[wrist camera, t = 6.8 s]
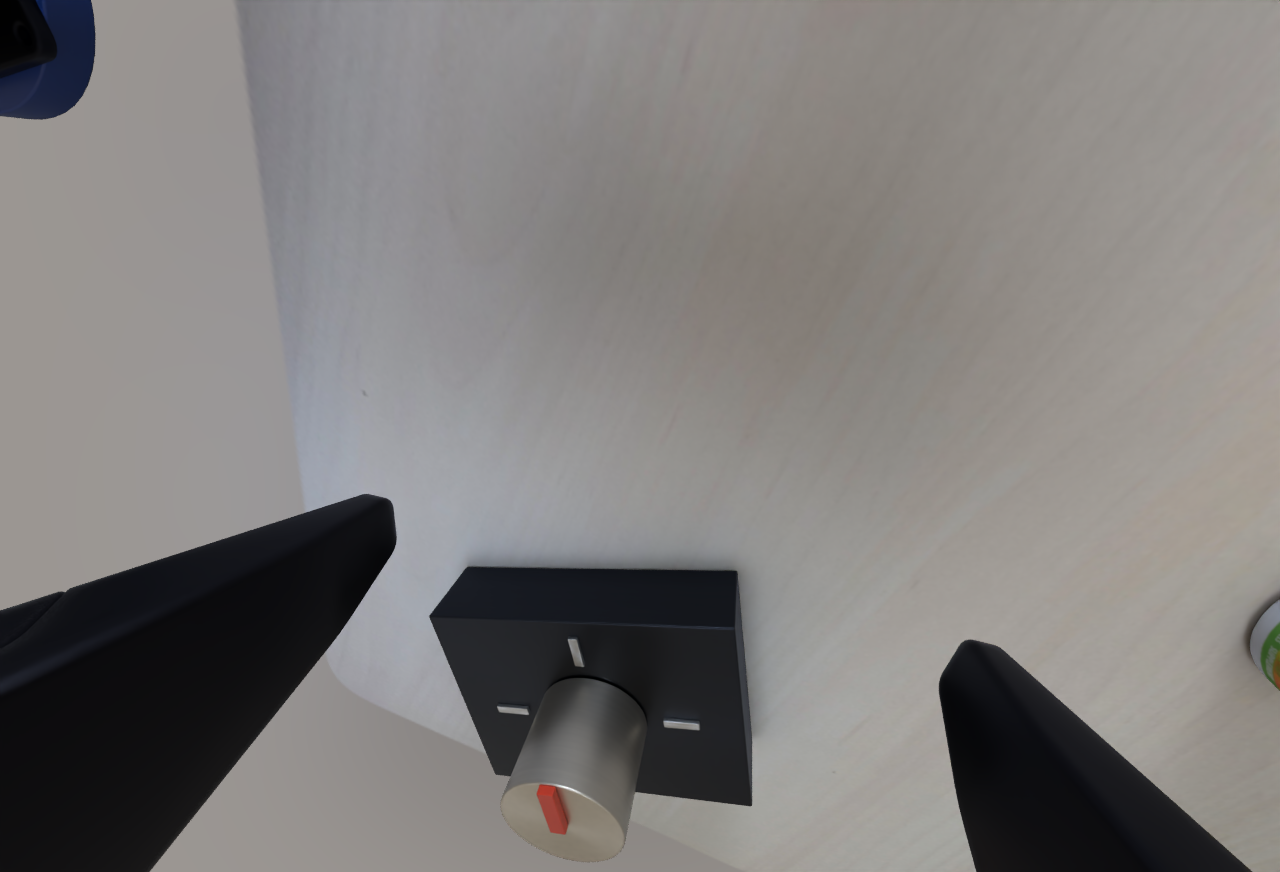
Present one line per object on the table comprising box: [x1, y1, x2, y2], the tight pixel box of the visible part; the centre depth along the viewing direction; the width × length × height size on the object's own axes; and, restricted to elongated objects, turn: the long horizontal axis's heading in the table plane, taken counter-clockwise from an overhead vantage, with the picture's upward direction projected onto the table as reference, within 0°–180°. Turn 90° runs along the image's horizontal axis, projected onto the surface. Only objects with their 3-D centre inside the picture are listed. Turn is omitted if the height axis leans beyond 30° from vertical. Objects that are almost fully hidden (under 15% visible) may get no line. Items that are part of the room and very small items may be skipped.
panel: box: [430, 567, 752, 806], centre depth 22 cm, size 12×10×3 cm
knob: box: [501, 678, 647, 862], centre depth 18 cm, size 4×4×4 cm
